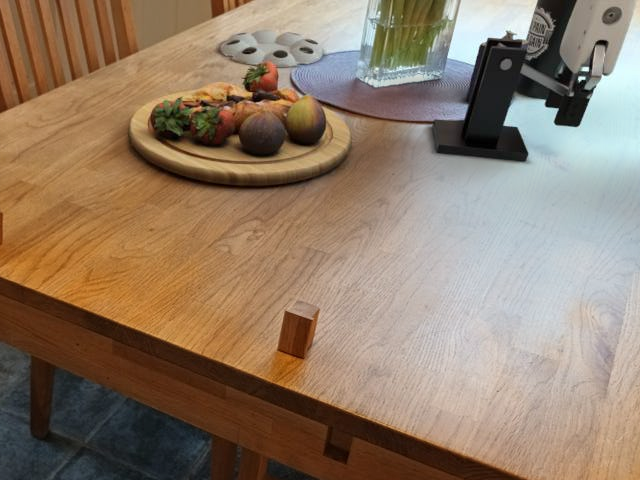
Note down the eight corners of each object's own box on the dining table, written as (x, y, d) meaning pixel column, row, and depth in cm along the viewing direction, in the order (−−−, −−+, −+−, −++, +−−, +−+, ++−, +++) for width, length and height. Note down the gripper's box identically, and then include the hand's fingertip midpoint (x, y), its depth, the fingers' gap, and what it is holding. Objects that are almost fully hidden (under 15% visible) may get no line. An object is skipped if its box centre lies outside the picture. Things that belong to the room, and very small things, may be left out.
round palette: (199, 51, 137) (200, 40, 136) (258, 31, 149) (259, 20, 148) (285, 74, 128) (287, 62, 126) (341, 50, 139) (343, 39, 138)
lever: (566, 98, 101) (578, 82, 100) (575, 113, 97) (588, 97, 95) (485, 54, 100) (497, 38, 98) (490, 68, 95) (503, 51, 94)
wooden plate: (205, 88, 121) (207, 36, 116) (384, 132, 107) (396, 76, 102) (82, 149, 101) (79, 89, 96) (284, 213, 87) (293, 148, 82)
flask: (504, 93, 122) (526, 25, 115) (517, 99, 119) (539, 30, 113) (460, 99, 119) (479, 31, 112) (472, 105, 117) (493, 36, 110)
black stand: (515, 134, 107) (547, 37, 99) (525, 161, 100) (562, 58, 91) (432, 126, 109) (457, 30, 101) (436, 152, 102) (464, 51, 93)
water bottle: (496, 81, 126) (542, -70, 112) (551, 79, 127) (604, -70, 113) (525, 101, 119) (579, -58, 104) (583, 99, 120) (644, -58, 105)
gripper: (670, -10, 81) (604, 143, 93) (629, -40, 94) (576, 98, 106) (599, -15, 83) (543, 137, 94) (568, -43, 96) (522, 93, 107)
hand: (561, 115), depth 100 cm, fingers closed on lever, 6 cm apart
